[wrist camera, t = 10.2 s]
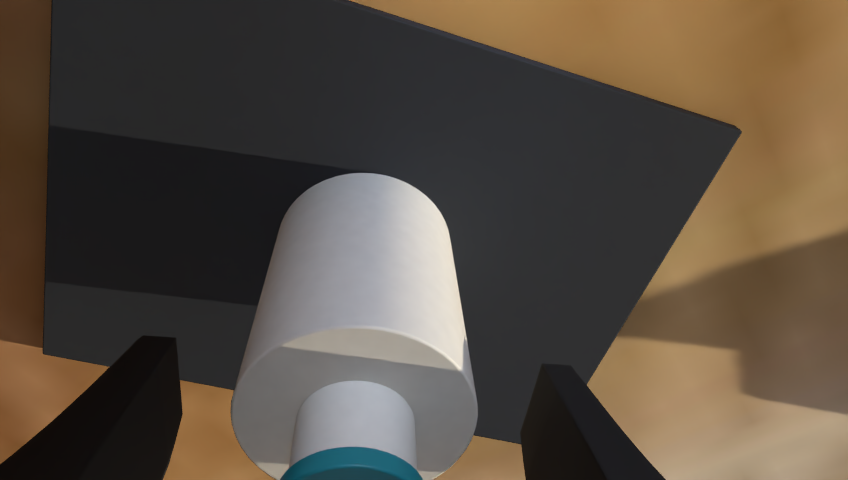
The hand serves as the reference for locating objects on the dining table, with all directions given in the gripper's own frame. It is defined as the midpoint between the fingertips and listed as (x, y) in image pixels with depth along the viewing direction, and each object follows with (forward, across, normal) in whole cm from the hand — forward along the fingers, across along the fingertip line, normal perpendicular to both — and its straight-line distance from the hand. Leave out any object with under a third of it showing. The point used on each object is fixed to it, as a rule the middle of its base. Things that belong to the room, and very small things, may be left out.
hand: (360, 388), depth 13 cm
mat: (+6, 0, 0) cm, 6 cm away
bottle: (+5, 0, 0) cm, 5 cm away
